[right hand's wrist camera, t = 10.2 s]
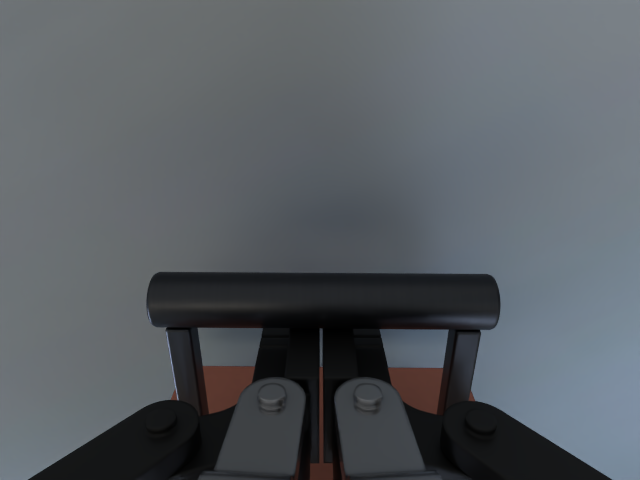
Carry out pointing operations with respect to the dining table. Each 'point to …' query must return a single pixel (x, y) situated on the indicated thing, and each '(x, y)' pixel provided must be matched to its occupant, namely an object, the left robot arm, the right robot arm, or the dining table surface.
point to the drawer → (323, 327)
